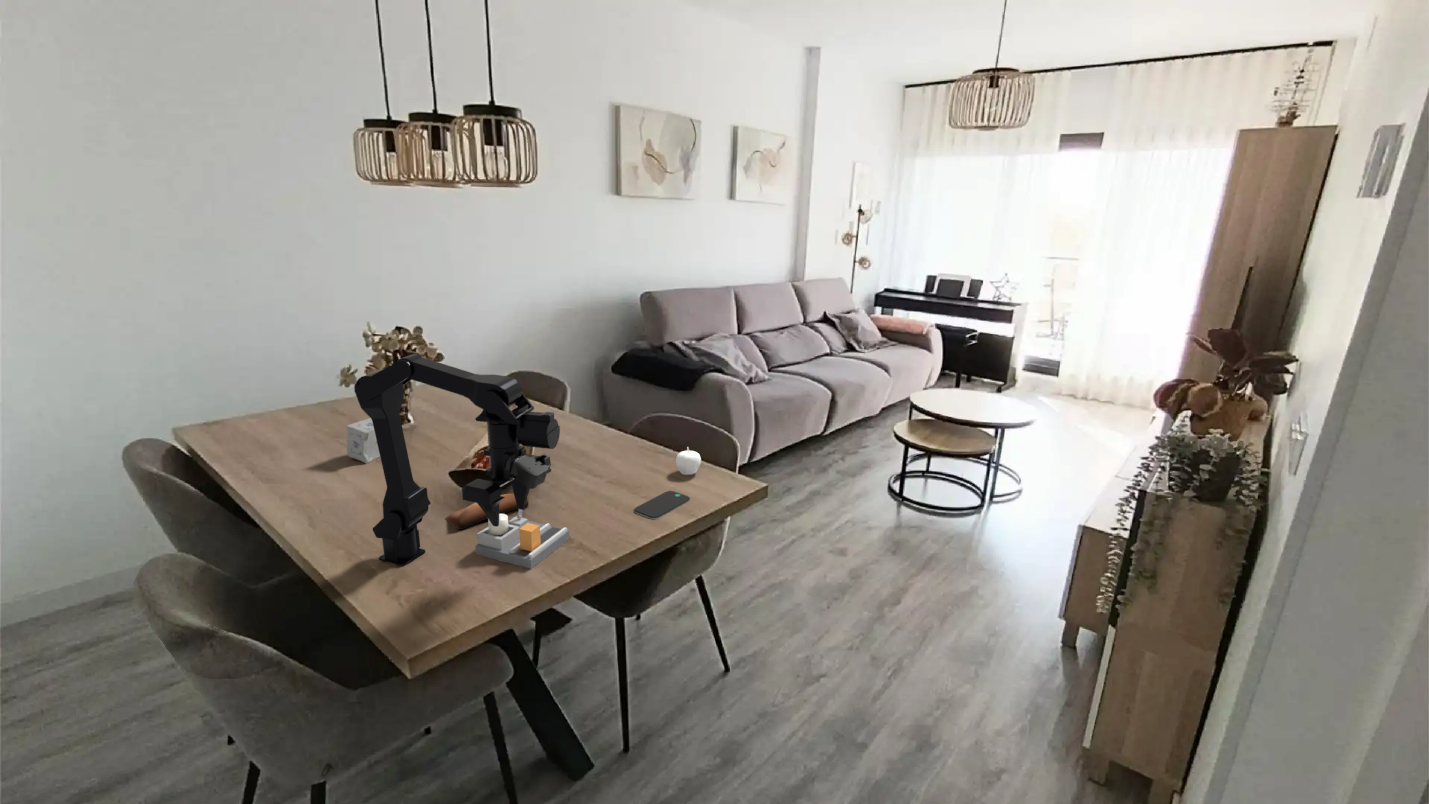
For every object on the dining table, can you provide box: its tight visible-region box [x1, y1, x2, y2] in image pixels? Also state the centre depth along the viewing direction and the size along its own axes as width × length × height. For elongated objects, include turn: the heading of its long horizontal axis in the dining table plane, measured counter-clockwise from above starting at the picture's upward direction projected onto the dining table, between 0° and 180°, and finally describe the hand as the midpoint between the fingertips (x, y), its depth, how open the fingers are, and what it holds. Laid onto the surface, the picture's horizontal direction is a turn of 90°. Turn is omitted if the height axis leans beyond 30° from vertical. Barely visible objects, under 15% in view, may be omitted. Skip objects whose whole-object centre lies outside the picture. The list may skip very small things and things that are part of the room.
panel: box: [475, 516, 571, 570], centre depth 142 cm, size 14×14×4 cm
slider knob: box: [519, 523, 541, 552], centre depth 137 cm, size 3×3×5 cm
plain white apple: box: [675, 446, 702, 476], centre depth 184 cm, size 7×7×8 cm
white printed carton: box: [346, 417, 380, 464], centre depth 186 cm, size 10×8×10 cm
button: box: [487, 513, 509, 535], centre depth 140 cm, size 4×4×3 cm
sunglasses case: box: [444, 492, 529, 531], centre depth 156 cm, size 18×7×7 cm
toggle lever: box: [516, 509, 524, 519], centre depth 149 cm, size 2×2×5 cm
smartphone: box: [633, 490, 691, 520], centre depth 165 cm, size 8×1×15 cm
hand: (508, 517), depth 130 cm, fingers open, 8 cm apart
